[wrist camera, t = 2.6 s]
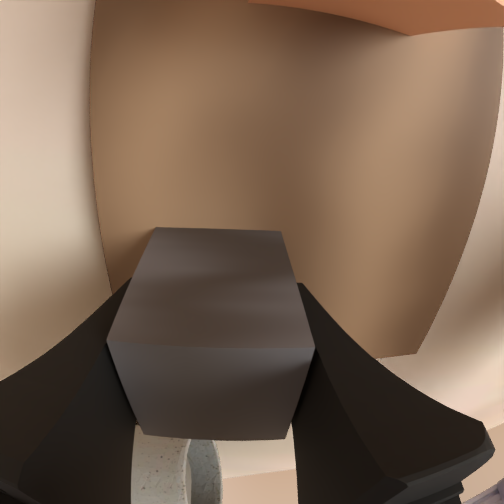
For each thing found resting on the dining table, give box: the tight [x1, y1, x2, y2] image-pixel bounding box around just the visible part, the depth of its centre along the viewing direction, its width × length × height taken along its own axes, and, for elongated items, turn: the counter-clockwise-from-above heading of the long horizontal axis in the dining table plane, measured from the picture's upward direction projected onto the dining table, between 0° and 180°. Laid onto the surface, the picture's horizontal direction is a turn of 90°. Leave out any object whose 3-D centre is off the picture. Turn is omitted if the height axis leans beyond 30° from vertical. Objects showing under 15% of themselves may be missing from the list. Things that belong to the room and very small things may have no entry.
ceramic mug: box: [131, 425, 223, 504], centre depth 16 cm, size 11×8×8 cm
